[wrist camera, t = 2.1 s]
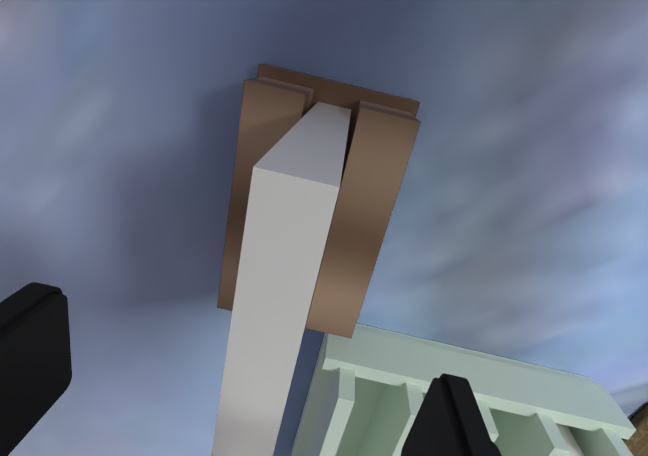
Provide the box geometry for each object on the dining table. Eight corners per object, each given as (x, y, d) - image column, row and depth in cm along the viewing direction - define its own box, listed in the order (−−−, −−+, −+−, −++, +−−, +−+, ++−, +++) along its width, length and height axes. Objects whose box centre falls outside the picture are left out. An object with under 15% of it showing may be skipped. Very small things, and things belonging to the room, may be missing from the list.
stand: (263, 63, 18) (238, 64, 14) (417, 101, 18) (432, 111, 14) (233, 273, 23) (210, 314, 19) (355, 302, 23) (354, 347, 19)
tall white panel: (318, 101, 18) (252, 167, 7) (351, 109, 18) (340, 187, 7) (282, 278, 22) (205, 496, 11) (309, 284, 22) (259, 508, 11)
